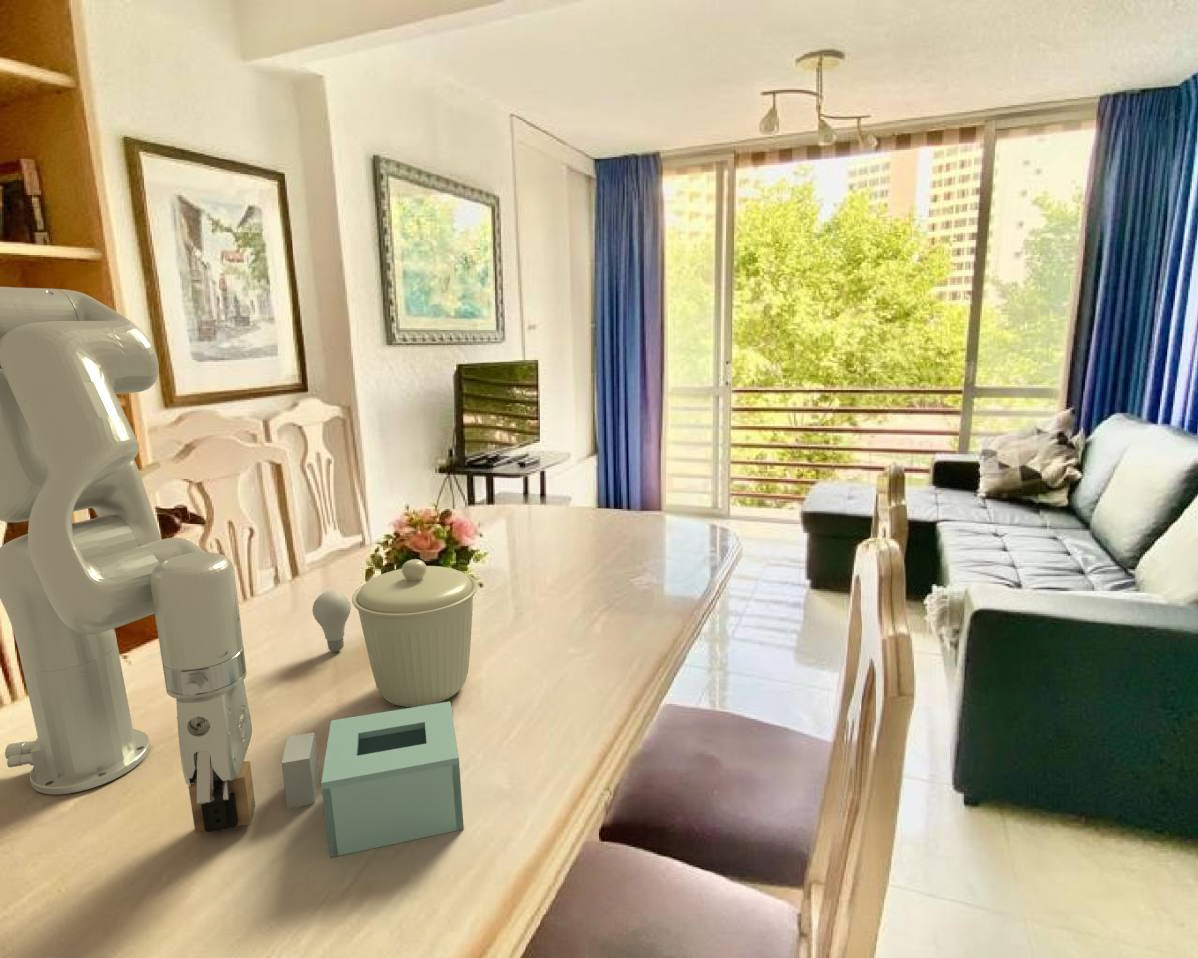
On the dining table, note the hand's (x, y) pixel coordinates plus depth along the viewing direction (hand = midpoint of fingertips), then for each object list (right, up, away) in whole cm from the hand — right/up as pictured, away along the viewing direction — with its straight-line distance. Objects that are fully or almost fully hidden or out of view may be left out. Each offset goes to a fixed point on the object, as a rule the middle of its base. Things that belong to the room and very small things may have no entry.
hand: (225, 815), depth 78 cm
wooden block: (0, 0, 0) cm, 0 cm away
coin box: (+19, 0, +3) cm, 19 cm away
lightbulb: (-3, +8, +42) cm, 43 cm away
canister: (+15, +5, +29) cm, 33 cm away
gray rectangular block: (+6, 0, +6) cm, 9 cm away
